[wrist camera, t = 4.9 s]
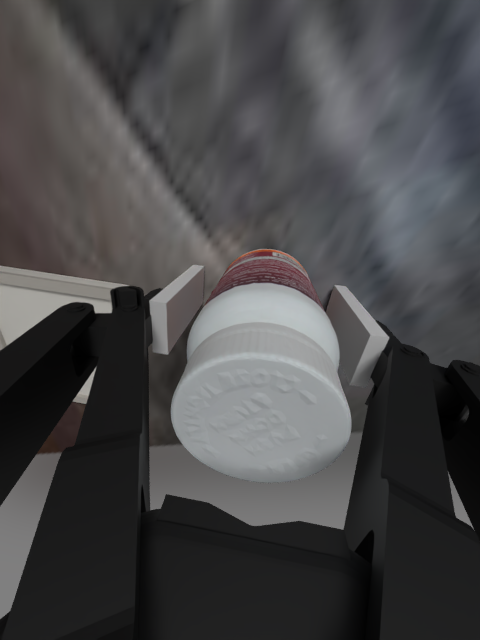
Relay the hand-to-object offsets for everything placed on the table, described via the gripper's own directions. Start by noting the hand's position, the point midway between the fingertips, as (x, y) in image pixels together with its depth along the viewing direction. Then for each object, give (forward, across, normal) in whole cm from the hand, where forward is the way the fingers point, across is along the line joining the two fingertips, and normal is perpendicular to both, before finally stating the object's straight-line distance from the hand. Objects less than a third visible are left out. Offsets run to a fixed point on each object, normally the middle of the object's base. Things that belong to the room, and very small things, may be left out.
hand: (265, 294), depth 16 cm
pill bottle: (+1, 0, 0) cm, 1 cm away
